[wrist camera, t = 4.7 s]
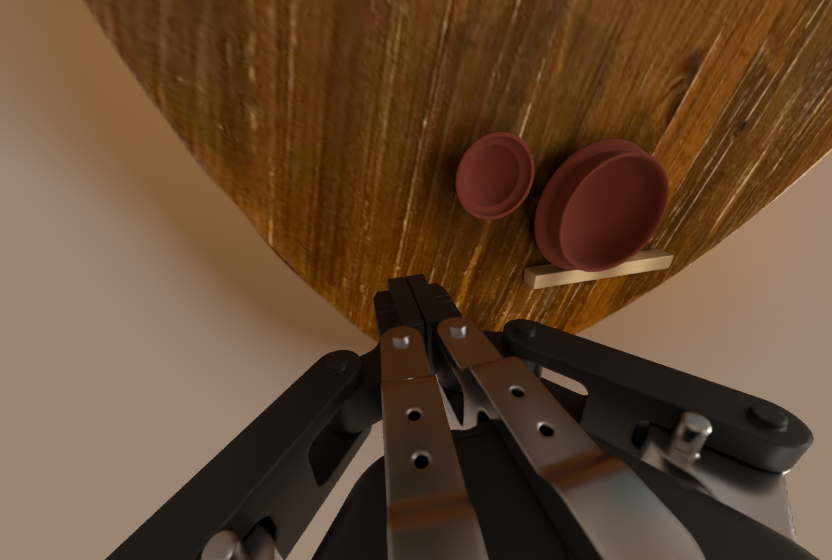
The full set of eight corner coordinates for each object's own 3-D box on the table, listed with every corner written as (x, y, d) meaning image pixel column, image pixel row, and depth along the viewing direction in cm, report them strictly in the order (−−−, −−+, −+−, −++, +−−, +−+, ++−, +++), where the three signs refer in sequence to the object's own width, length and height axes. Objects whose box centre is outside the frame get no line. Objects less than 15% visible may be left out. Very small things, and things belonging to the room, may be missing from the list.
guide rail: (523, 280, 32) (533, 289, 30) (524, 267, 31) (535, 275, 30) (652, 260, 35) (669, 268, 33) (656, 248, 34) (674, 255, 32)
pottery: (593, 270, 34) (626, 289, 30) (423, 229, 27) (437, 247, 23) (657, 160, 29) (705, 166, 25) (471, 79, 23) (498, 71, 19)
